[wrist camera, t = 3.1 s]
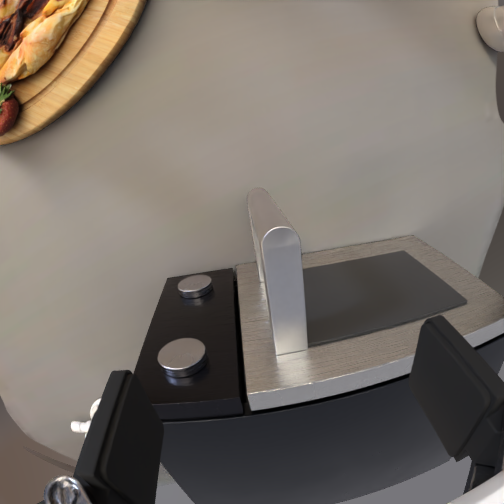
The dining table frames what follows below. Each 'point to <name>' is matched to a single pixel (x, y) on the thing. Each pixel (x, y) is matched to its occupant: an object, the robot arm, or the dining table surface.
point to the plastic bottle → (492, 26)
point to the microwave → (271, 413)
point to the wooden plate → (55, 56)
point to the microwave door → (345, 310)
